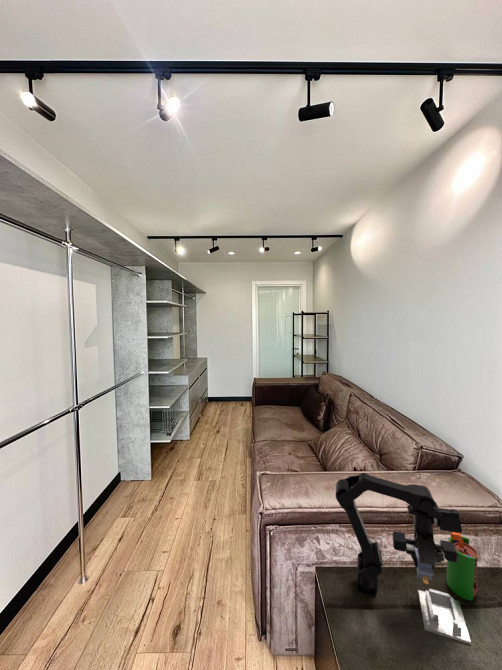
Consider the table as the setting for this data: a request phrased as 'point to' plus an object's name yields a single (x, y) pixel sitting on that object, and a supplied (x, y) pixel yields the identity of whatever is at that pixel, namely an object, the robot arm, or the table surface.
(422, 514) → the robot arm
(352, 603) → the table surface
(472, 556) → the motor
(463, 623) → the chassis
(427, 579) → the block
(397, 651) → the table surface
